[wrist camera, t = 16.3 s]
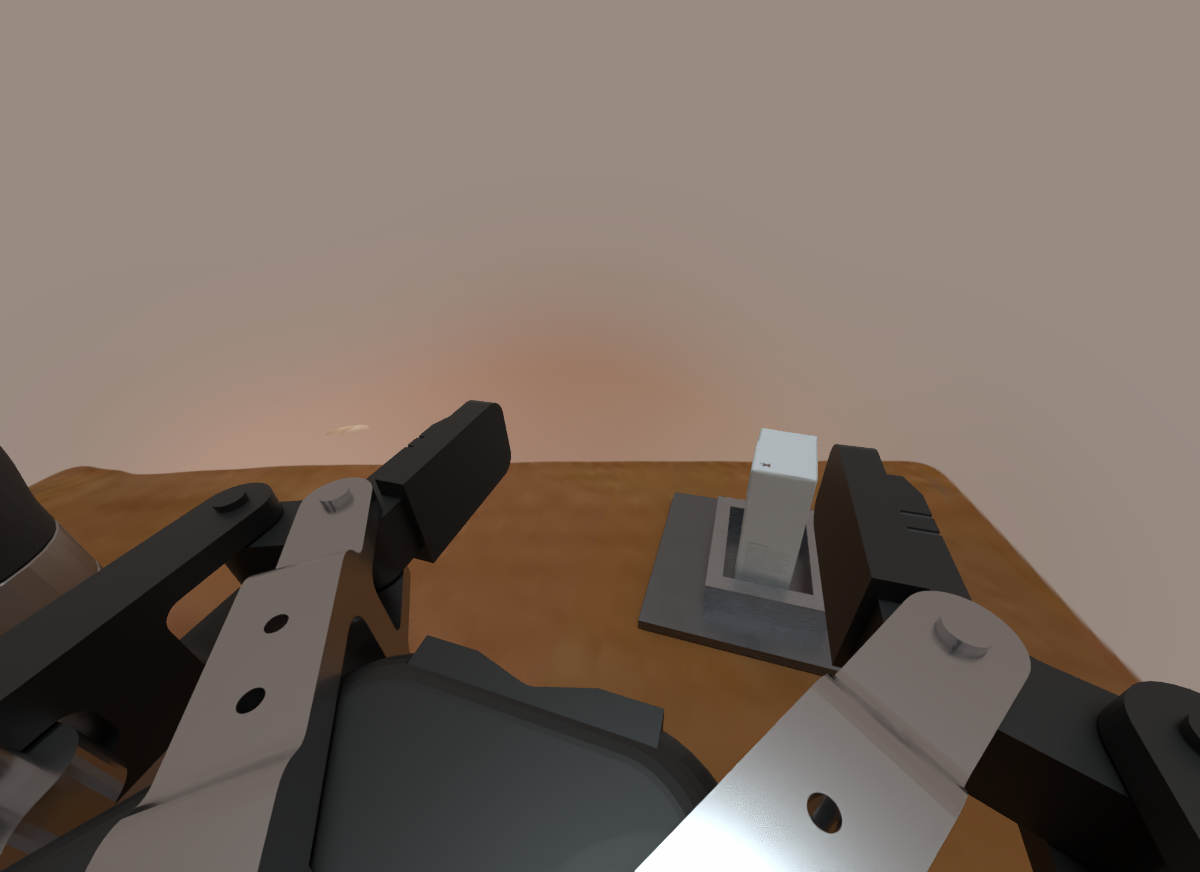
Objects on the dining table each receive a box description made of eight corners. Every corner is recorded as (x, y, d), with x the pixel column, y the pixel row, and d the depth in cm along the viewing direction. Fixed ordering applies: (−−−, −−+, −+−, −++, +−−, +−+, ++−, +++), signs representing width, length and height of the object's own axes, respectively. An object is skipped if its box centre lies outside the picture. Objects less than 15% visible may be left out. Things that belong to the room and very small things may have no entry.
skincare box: (787, 603, 33) (818, 482, 27) (731, 587, 35) (748, 469, 29) (791, 548, 38) (819, 434, 32) (742, 536, 39) (759, 425, 33)
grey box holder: (638, 628, 33) (637, 599, 31) (674, 499, 46) (675, 473, 44) (904, 697, 28) (922, 667, 26) (862, 529, 41) (871, 501, 39)
